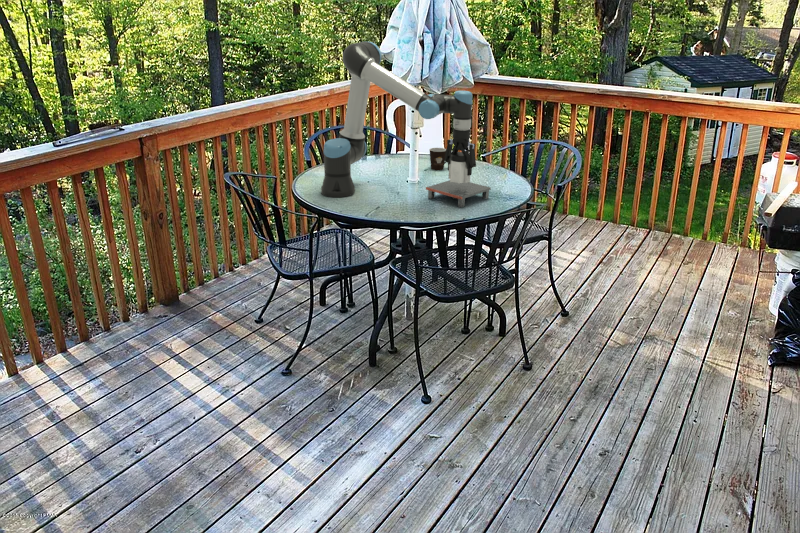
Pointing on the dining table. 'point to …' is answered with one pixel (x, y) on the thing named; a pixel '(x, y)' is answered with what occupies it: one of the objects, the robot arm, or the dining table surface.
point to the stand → (458, 191)
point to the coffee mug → (437, 158)
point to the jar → (457, 167)
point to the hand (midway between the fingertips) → (459, 180)
